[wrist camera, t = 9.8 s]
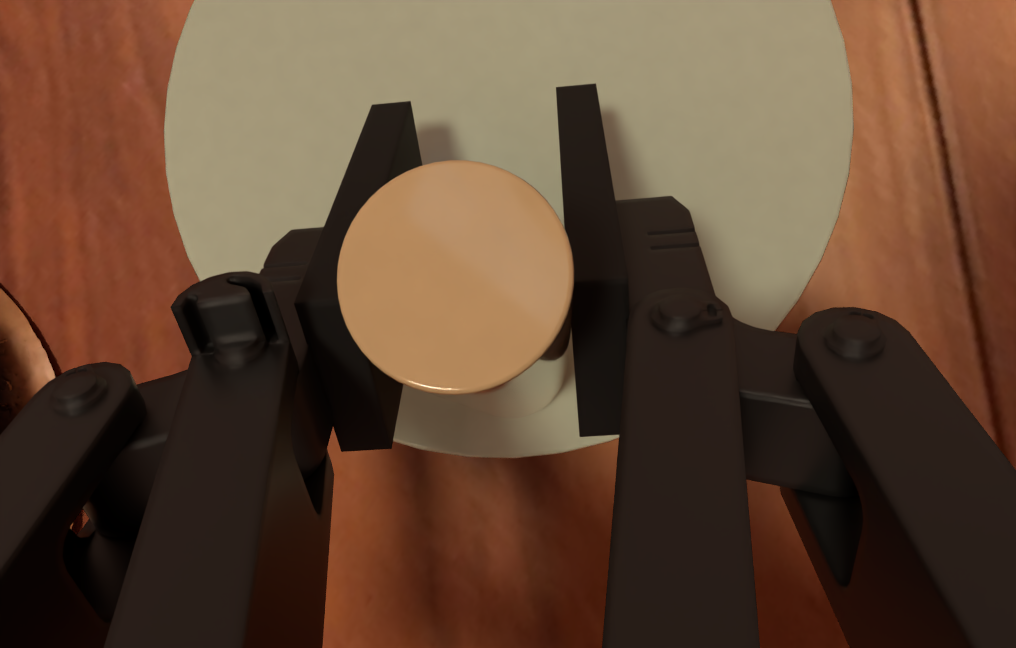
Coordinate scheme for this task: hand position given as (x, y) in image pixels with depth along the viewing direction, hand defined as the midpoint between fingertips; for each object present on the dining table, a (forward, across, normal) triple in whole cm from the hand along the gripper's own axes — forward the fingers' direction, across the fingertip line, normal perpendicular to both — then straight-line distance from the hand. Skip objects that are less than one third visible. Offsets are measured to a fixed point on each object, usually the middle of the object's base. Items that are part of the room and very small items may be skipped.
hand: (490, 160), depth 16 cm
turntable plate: (+3, 0, -1) cm, 3 cm away
